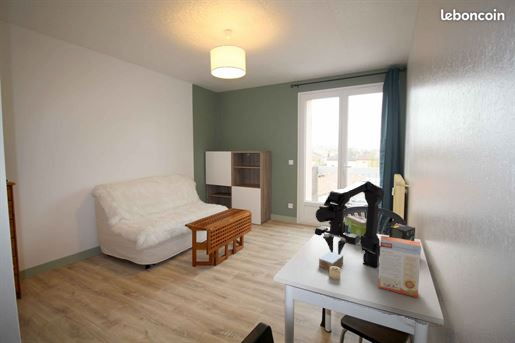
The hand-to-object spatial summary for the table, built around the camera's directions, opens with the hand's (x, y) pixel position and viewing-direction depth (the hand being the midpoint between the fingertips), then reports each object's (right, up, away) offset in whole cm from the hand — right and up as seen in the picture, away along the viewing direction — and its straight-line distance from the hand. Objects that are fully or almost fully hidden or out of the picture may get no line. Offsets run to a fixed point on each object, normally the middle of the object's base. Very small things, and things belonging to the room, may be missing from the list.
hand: (335, 253), depth 106 cm
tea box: (+30, -8, +46) cm, 56 cm away
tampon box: (+48, -10, +30) cm, 57 cm away
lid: (+2, -7, +12) cm, 14 cm away
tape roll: (0, -11, +1) cm, 11 cm away
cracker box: (+23, -12, -8) cm, 27 cm away
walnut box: (+2, -10, +13) cm, 16 cm away
